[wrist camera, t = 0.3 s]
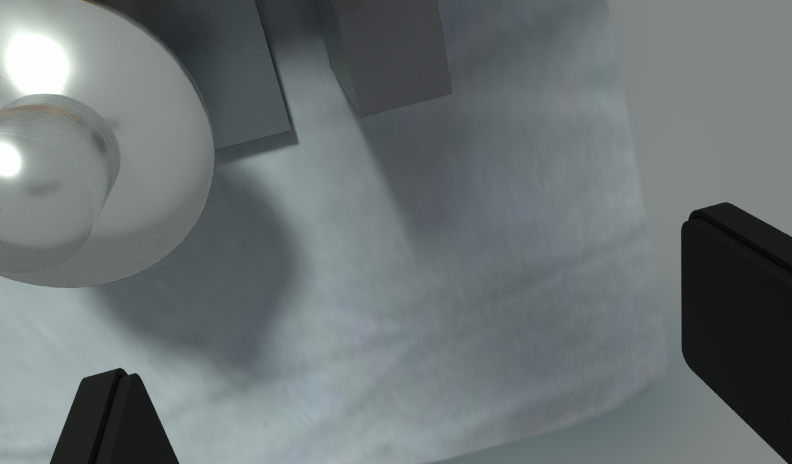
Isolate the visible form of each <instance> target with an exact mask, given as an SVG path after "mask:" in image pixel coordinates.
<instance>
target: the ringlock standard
mask: <svg viewBox="0 0 792 464" xmlns="http://www.w3.org/2000/svg"><path fill="white" fill-rule="evenodd" d="M287 131H291V126H290V122H289V119H288V115H287V111H286V108H285V104H284V101H283V97H282V94H281V90H280V87H279V83H278V80H277V76H276V73H275V69H274V65H273V62H272V58H271V55H270V51H269V48H268V44H267V41H266V37H265V34H264V30H263V27H262V23H261V19H260V16H259V12H258V9H257V5H256V2H255V0H0V276H2V277H5V278H9V279H12V280H15V281H19V282H23V283H28V284H33V285H38V286H47V287H56V288H78V287H88V286H97V285H102V284H106V283H111V282H115V281H118V280H121V279H124V278H127V277H130V276H133V275H135V274H137V273H139V272H141V271H143V270H146V269H148V268H149V267H151V266H153V265H154V264H156V263H157V262H159V261H160V260H162V259H163V258H165V257H166V256H167V255H168V254H169V253H171V252H172V251H173V250H174V249H175V248H177V246H178V245H179V244H180V243H181V242H182V241H183V240H184V239H185V238H186V237H187V235H188V234H189V233H190V231H191V230H192V228H193V227H194V225H195V224H196V222H197V221H198V219H199V217H200V215H201V213H202V211H203V209H204V207H205V204H206V201H207V198H208V195H209V192H210V189H211V182H212V176H213V169H214V153H215V150H217V149H220V148H224V147H228V146H232V145H236V144H240V143H244V142H248V141H252V140H256V139H259V138H263V137H267V136H271V135H275V134H279V133H283V132H287Z"/></svg>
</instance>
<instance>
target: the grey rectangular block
mask: <svg viewBox="0 0 792 464" xmlns="http://www.w3.org/2000/svg"><path fill="white" fill-rule="evenodd" d="M315 2H316V6H317V10H318V15H319V19H320V23H321V27H322V31H323V35H324V39H325V43H326V48H327V52H328V56H329V60H330V64H331V68H332V70H333V72H334V73H335V75H336V77H337V78H338V80H339V82H340V84H341V85H342V87H343V89H344V90H345V92H346V94H347V95H348V97H349V99H350V100H351V102H352V104H353V106H354V107H355V109H356V111H357V112H358V114H359V116H360V117H362V116H366V115H370V114H374V113H378V112H382V111H386V110H390V109H393V108H397V107H401V106H405V105H409V104H413V103H417V102H421V101H425V100H428V99H432V98H436V97H440V96H444V95H448V94H452V91H451V84H450V78H449V72H448V66H447V60H446V53H445V47H444V41H443V35H442V28H441V22H440V16H439V10H438V4H437V0H315Z"/></svg>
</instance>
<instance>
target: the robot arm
mask: <svg viewBox="0 0 792 464" xmlns="http://www.w3.org/2000/svg"><path fill="white" fill-rule="evenodd" d="M681 267H682V268H681V277H682V278H681V288H682V289H681V291H682V292H681V295H682V297H681V300H682V352H683V356H684V358H685V361H686V363H687V364H688V366H689V367H690V368H691V370H692V371H693V372H695V374H696V375H697V376H699V377H700V378H701V379H702V380H703V381H704V382H705V383H706V384H707V385H708V386H709V387H710V388H711V389H712V390H713V391H714V392H715V393H716V394H717V395H718V396H719V397H720V398H721V399H722V400H723V401H724V402H725V403H726V404H727V405H728V406H730V408H731V409H732V410H734V411H735V412H736V413H737V414H738V415H739V416H740V417H741V418H742V419H743V420H744V421H745V422H746V423H747V424H748V425H749V426H750V427H751V428H752V429H753V430H754V431H755V432H756V433H757V434H758V435H759V436H760V437H761V438H762V439H763V440H764V441H765V442H766V443H767V444H769V446H771V447H772V448H773V449H774V450H775V451H776V452H777V453H778V454H779V455H780V456H781V457H782V458H783V459H784V460H785V461H786V462H787V463H788V464H792V237H791V236H789V235H787V234H785V233H783V232H781V231H780V230H778V229H776V228H774V227H773V226H771V225H769V224H767V223H765V222H763V221H762V220H760V219H758V218H756V217H754V216H753V215H751V214H749V213H747V212H745V211H743V210H742V209H740V208H738V207H736V206H734V205H732V204H730V203H727V202H725V203H720V204H717V205H713V206H709V207H706V208H702V209H698V210H695V211H693V212H692V213H691V214H690V216H689V219H688V221H686V222H685V223H683V225H682V229H681ZM50 464H179V462H178V460H177V457H176V455H175V453H174V451H173V448H172V446H171V444H170V442H169V440H168V437H167V435H166V433H165V431H164V428H163V426H162V424H161V422H160V419H159V417H158V415H157V413H156V411H155V408H154V406H153V404H152V402H151V399H150V397H149V395H148V393H147V391H146V388H145V386H144V384H143V382H142V380H141V378H140V376H139V375H138V374H136V373H134V374H131V375H128V374H127V373H126V372H125V371H124V369H121V368H118V369H114V370H111V371H107V372H104V373H100V374H96V375H93V376H89V377H86V378H83V379H82V381H81V383H80V385H79V388H78V391H77V393H76V396H75V398H74V401H73V404H72V406H71V409H70V412H69V414H68V417H67V420H66V422H65V425H64V427H63V430H62V433H61V435H60V438H59V441H58V443H57V446H56V449H55V451H54V454H53V456H52V459H51V462H50Z"/></svg>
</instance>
